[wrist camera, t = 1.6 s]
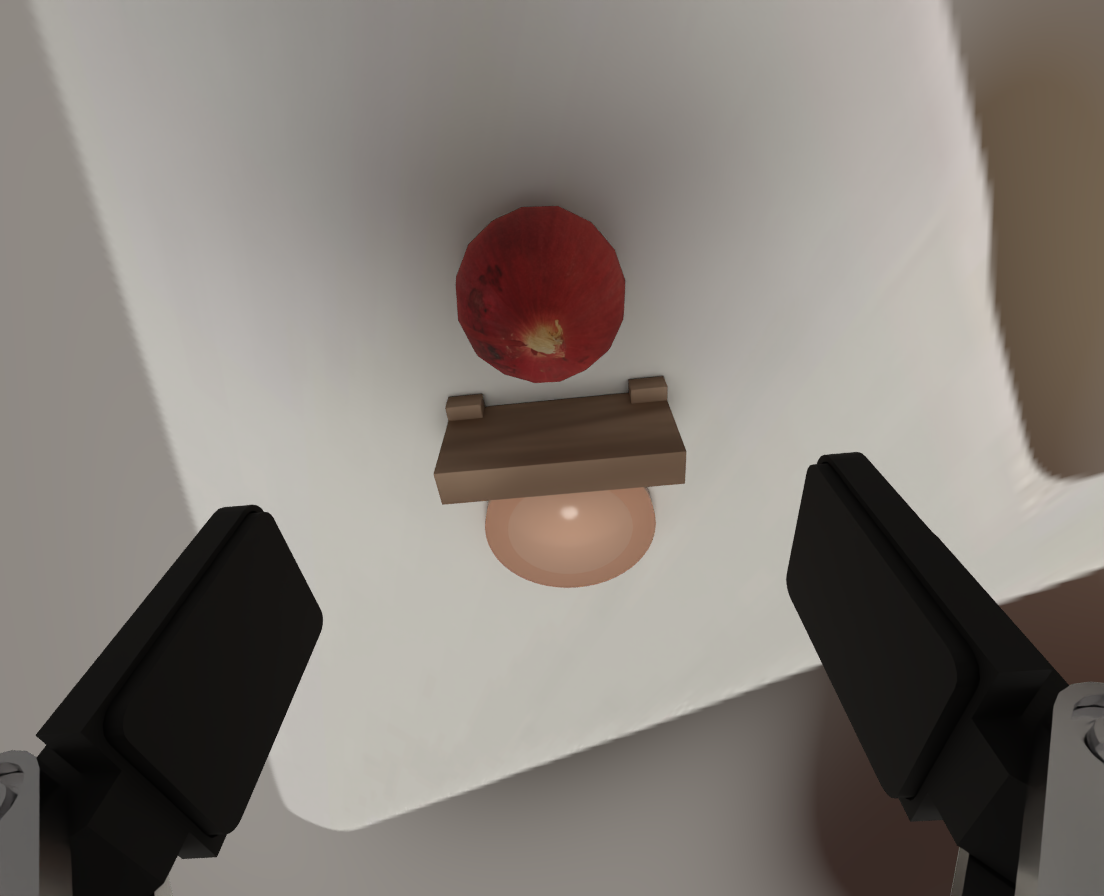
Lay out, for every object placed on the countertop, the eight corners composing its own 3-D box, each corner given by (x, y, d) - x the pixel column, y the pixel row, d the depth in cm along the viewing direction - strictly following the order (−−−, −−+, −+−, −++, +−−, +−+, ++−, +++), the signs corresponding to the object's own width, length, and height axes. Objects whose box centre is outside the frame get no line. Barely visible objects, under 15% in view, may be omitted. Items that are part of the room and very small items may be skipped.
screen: (448, 397, 25) (429, 460, 21) (663, 376, 24) (687, 436, 20) (461, 449, 27) (446, 516, 23) (662, 430, 26) (684, 496, 22)
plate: (473, 456, 27) (470, 471, 26) (652, 440, 26) (656, 454, 25) (501, 577, 32) (499, 593, 31) (651, 565, 32) (655, 581, 31)
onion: (507, 353, 24) (492, 458, 17) (442, 227, 21) (394, 297, 14) (631, 302, 22) (667, 395, 16) (582, 160, 19) (600, 203, 13)
